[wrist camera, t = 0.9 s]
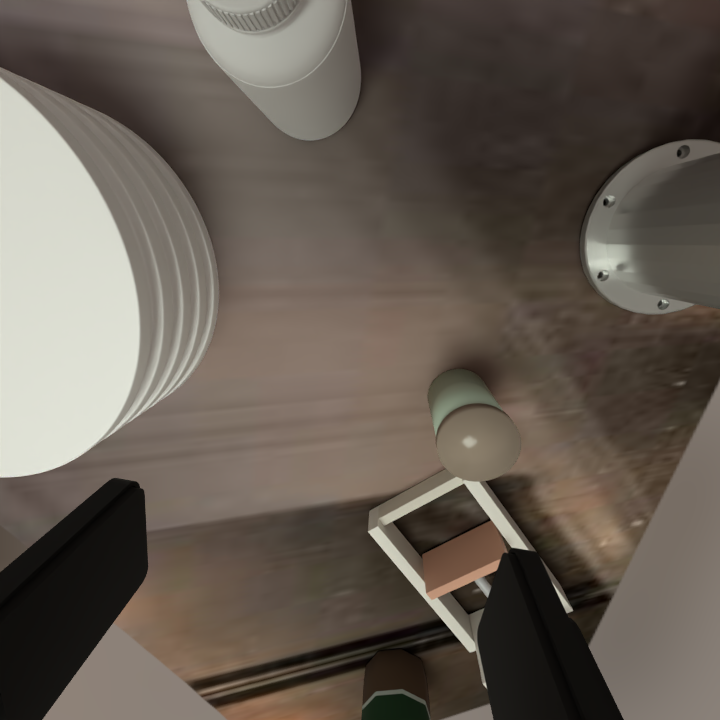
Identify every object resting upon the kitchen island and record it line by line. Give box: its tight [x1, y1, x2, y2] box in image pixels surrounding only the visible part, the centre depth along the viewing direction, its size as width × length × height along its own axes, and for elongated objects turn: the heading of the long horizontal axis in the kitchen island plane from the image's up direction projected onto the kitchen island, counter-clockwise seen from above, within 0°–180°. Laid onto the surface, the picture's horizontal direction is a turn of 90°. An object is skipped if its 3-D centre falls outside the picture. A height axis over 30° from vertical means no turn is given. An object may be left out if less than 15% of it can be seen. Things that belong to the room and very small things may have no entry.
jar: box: [428, 369, 521, 482], centre depth 31 cm, size 6×6×9 cm
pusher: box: [422, 520, 508, 600], centre depth 38 cm, size 9×13×5 cm, turn 36°
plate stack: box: [0, 67, 219, 477], centre depth 29 cm, size 28×28×12 cm
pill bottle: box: [187, 0, 361, 141], centre depth 21 cm, size 8×8×15 cm
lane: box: [368, 469, 573, 688], centre depth 37 cm, size 12×19×7 cm, turn 36°
